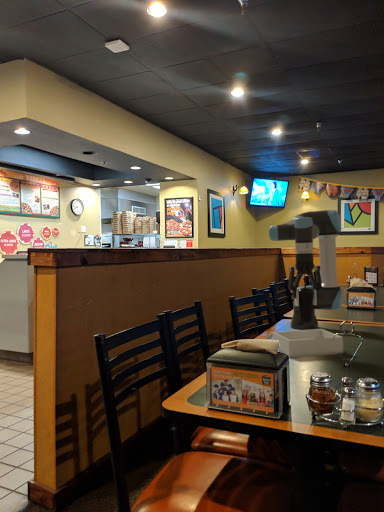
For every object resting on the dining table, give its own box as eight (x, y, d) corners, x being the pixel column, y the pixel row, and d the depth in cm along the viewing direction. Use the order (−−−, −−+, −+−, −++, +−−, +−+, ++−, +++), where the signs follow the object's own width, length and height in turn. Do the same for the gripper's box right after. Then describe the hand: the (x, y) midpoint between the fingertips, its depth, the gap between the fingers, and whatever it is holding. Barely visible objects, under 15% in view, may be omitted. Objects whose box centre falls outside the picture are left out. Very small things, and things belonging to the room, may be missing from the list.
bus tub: (322, 343, 185) (321, 328, 185) (343, 353, 168) (342, 336, 168) (272, 347, 181) (272, 332, 181) (289, 357, 164) (288, 340, 164)
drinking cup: (316, 323, 170) (314, 276, 170) (297, 323, 171) (296, 276, 171) (314, 320, 177) (313, 275, 177) (296, 319, 179) (295, 275, 179)
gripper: (285, 253, 169) (286, 307, 169) (330, 252, 172) (331, 305, 172) (278, 253, 176) (280, 305, 176) (321, 252, 179) (323, 303, 180)
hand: (305, 305), depth 174 cm, fingers closed on drinking cup, 7 cm apart
